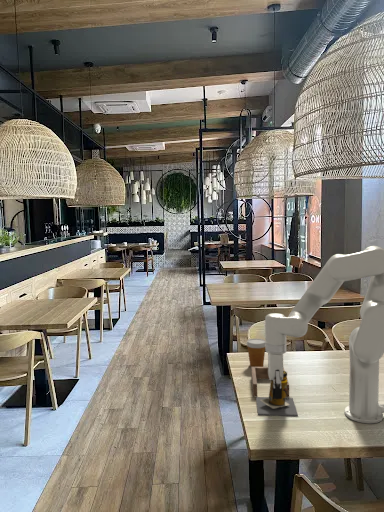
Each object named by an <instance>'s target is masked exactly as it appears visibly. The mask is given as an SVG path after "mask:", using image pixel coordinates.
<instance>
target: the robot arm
mask: <svg viewBox="0 0 384 512" xmlns="http://www.w3.org/2000/svg"><path fill="white" fill-rule="evenodd" d="M369 277H370V278H369ZM364 278H369V283H368V286H367V290H366V293H365V297H364V299H363V302H362V304H361V307H360V311H359V315H360V318H361V321H360V324H359V326H357V327H356V328H355V327H354V329H353V330H352V331H351V332H350V335H349V336H348V347H349V349H348V350H349V352H348V353H349V380H348V381H349V386H348V387H349V389H348V391H349V392H348V393H349V396H348V399H349V400H348V405H347V406H346V407H344V415H345V416H346V417H347V418H348V419H350V420H352V421H355V422H357V423H361V424H377V423H380V422H382V421H383V420H384V404H380V402H379V397H380V396H379V392H380V391H379V387H380V386H379V385H380V384H379V383H380V376H379V375H380V360H381V358H382V357H383V355H384V248H382V247H381V246H377V245H371V246H368V247H366V248H364V249H363V250H362V251H359V252H355V253H350V254H349V253H348V254H344V253H343V254H342V253H336V254H334V255H332V256H330V258H329V259H328V260H327V261H326V263H325V264H324V266H322V269H320V271H319V273H318V274H317V275H316V277H314V279H313V281H312V282H311V283H310V285H309V286H308V287H307V289H306V290H305V293H303V294H302V296H301V297H300V298H299V300H298V302H297V303H296V304H295V305H294V307H293V308H292V310H290V313H289V314H288V316H285V315H284V314H283V313H275V312H273V313H268V314H266V315H265V317H264V321H265V325H264V326H265V327H264V328H265V329H264V330H265V334H264V335H265V336H264V337H265V341H266V342H265V343H266V347H265V353H267V367H268V376H269V379H268V380H270V382H271V380H273V399H282V388H281V381H282V380H283V367H284V354H286V353H287V337H288V336H289V337H291V338H292V337H293V338H301V337H304V336H305V335H306V334H307V332H308V328H309V322H311V320H312V318H313V317H314V315H315V314H316V313H317V311H319V309H320V308H322V306H324V305H326V304H327V303H329V302H330V301H331V300H332V299H333V297H334V296H335V295H336V294H337V291H338V290H339V289H340V288H341V286H342V285H343V283H344V282H348V281H353V280H358V279H364ZM275 373H276V374H275ZM274 378H276V380H274ZM275 381H276V383H275Z"/></svg>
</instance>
